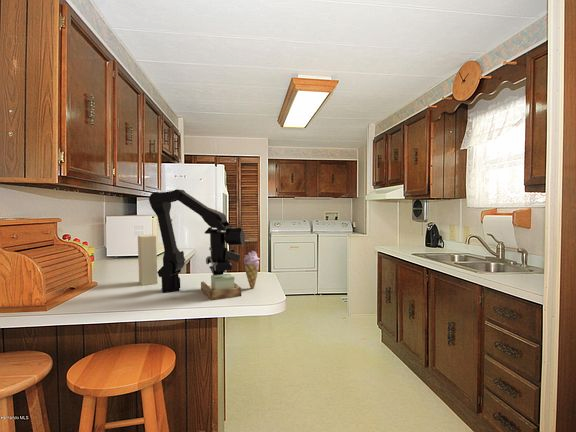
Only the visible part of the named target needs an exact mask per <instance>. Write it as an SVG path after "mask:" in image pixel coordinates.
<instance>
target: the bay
mask: <svg viewBox="0 0 576 432" xmlns="http://www.w3.org/2000/svg"><path fill="white" fill-rule="evenodd" d="M200 289H201V291H202V292H203V294H204V295H205V296H206V297H207V298H208V299H209V300H210V301H213V300H222V299H228V298H237V297H242V295H243V294H242V287H241V286H239V285H238V284H237V283H235V282H234V288H230V289H222V290H214V291H213V290H212V288H211V285H208V284H207V283H206V282H205V281H200Z"/></svg>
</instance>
